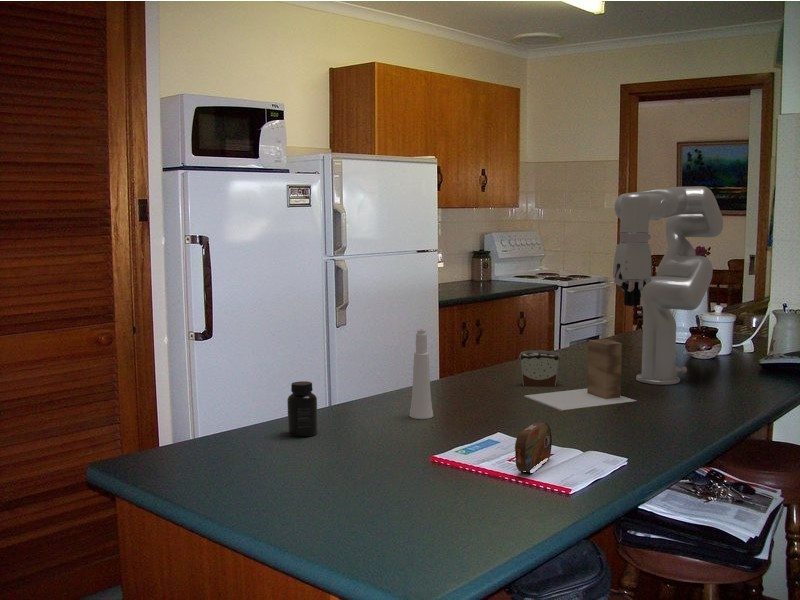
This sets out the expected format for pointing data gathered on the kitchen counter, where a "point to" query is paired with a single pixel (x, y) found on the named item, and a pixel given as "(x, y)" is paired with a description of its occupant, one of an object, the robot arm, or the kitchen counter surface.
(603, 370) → the walnut block
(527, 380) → the food container
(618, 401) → the grey mat
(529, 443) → the tin
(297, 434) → the supplement bottle
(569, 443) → the kitchen counter surface
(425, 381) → the cosmetic bottle
